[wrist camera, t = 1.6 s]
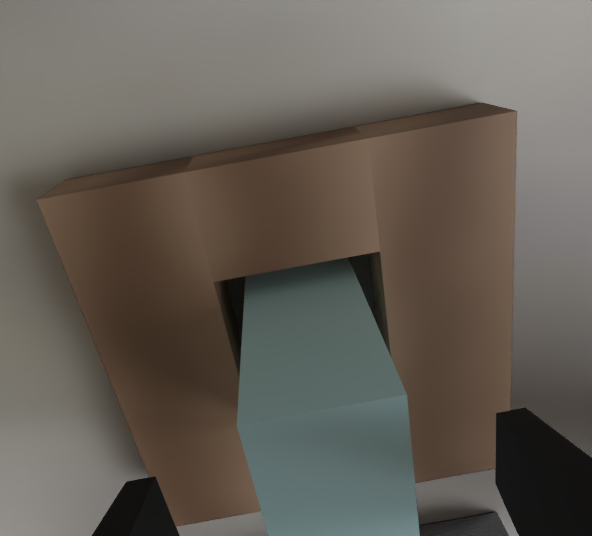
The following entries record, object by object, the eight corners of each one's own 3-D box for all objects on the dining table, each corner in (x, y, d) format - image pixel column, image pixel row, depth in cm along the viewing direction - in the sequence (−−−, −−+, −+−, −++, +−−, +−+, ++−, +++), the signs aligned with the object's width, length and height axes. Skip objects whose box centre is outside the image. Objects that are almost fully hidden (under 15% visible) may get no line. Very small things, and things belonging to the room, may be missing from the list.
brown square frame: (482, 102, 14) (517, 110, 12) (484, 425, 19) (509, 465, 17) (65, 180, 14) (36, 199, 12) (178, 481, 19) (169, 527, 17)
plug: (345, 251, 15) (407, 394, 9) (361, 366, 17) (421, 552, 11) (245, 269, 15) (237, 425, 9) (272, 382, 17) (280, 578, 11)
